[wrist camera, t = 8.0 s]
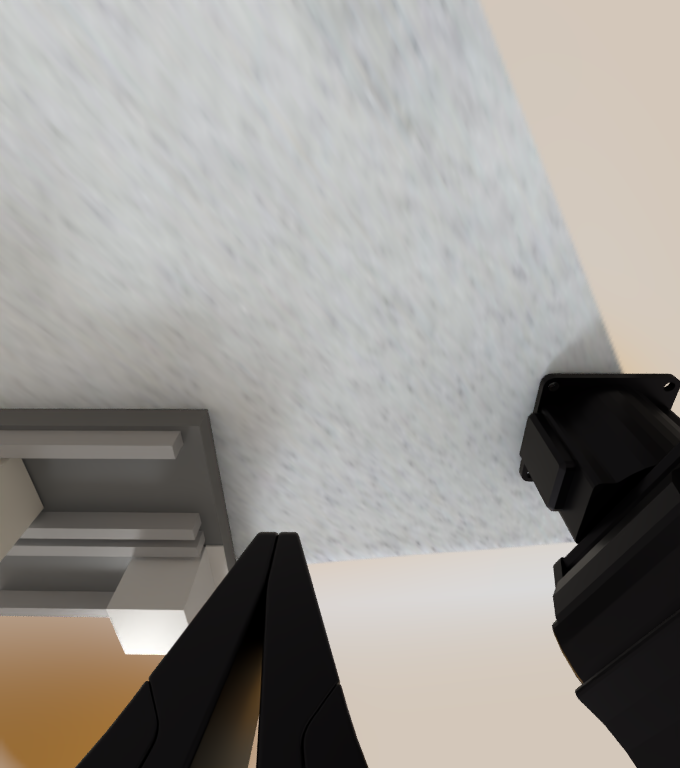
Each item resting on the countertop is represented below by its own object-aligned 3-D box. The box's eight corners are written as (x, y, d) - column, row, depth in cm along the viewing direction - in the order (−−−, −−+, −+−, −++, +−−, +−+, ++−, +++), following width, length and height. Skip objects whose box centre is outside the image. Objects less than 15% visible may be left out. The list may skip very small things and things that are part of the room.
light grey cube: (205, 546, 26) (183, 610, 23) (215, 590, 28) (197, 655, 25) (138, 545, 26) (106, 609, 23) (152, 589, 28) (125, 654, 25)
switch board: (207, 409, 23) (191, 440, 21) (240, 583, 30) (230, 621, 28) (-92, 408, 24) (-141, 439, 21) (7, 580, 31) (-21, 618, 28)
